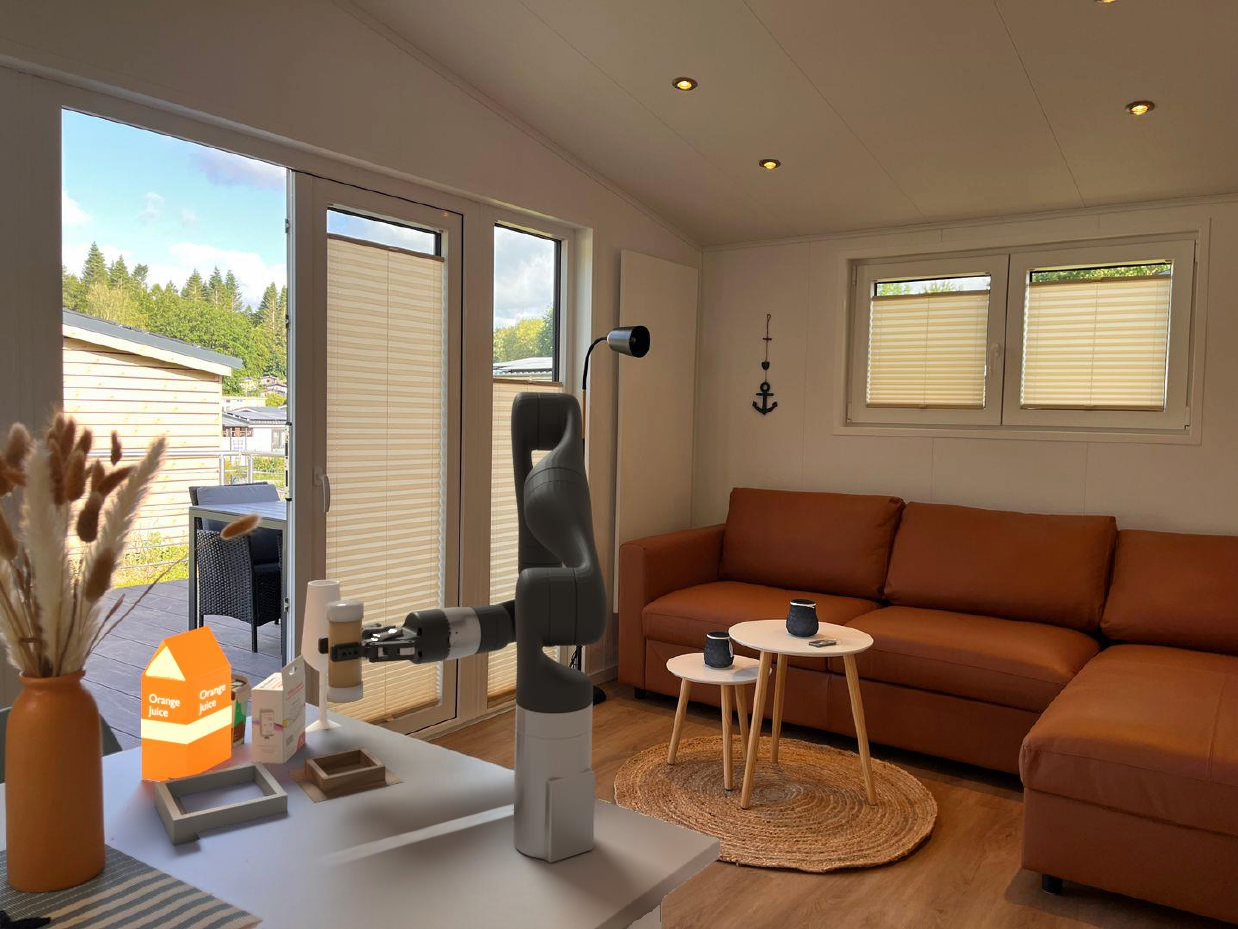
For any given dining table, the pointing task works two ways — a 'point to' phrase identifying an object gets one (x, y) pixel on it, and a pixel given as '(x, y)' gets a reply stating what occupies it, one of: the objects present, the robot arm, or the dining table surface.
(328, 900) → the dining table surface
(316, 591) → the champagne flute
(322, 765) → the walnut block
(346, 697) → the cartridge fuse
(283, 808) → the grey parts tray
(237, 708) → the food container
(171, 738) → the orange juice
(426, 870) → the dining table surface
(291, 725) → the ink cartridge box
